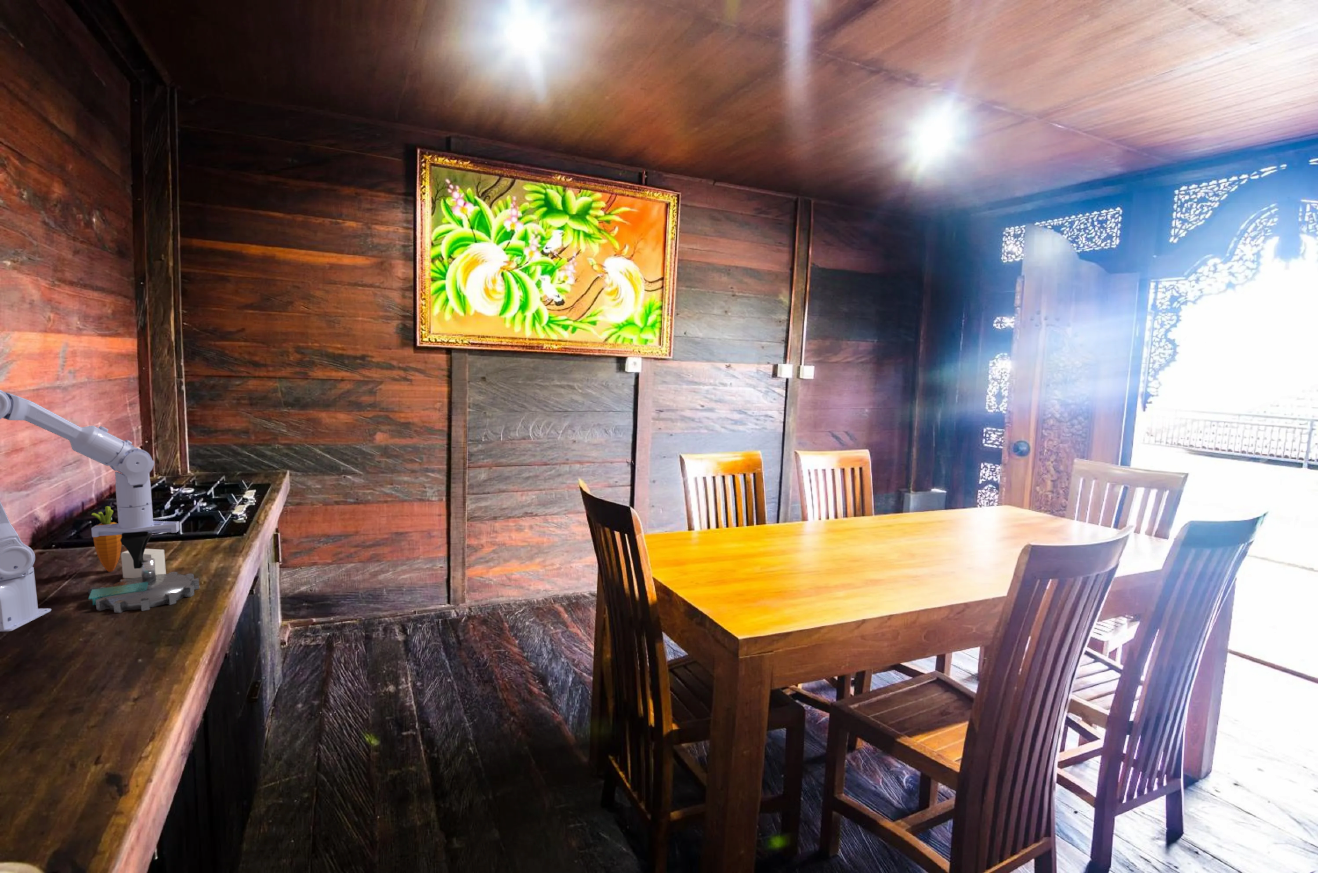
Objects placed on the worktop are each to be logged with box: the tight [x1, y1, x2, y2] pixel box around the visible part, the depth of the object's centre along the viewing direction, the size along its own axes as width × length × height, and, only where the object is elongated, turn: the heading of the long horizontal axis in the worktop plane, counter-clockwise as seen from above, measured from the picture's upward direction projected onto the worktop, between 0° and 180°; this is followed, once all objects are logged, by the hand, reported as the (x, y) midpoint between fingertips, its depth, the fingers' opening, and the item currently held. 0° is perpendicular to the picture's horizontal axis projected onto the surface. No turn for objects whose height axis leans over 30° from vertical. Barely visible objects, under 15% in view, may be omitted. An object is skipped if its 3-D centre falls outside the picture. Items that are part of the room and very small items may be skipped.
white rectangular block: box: [120, 548, 167, 579], centre depth 149 cm, size 7×4×6 cm, turn 86°
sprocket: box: [88, 558, 200, 614], centre depth 138 cm, size 17×17×6 cm
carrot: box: [91, 505, 123, 573], centre depth 150 cm, size 5×5×15 cm
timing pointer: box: [87, 586, 101, 595], centre depth 139 cm, size 3×1×1 cm, turn 86°
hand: (139, 567), depth 141 cm, fingers closed, pressing on sprocket
